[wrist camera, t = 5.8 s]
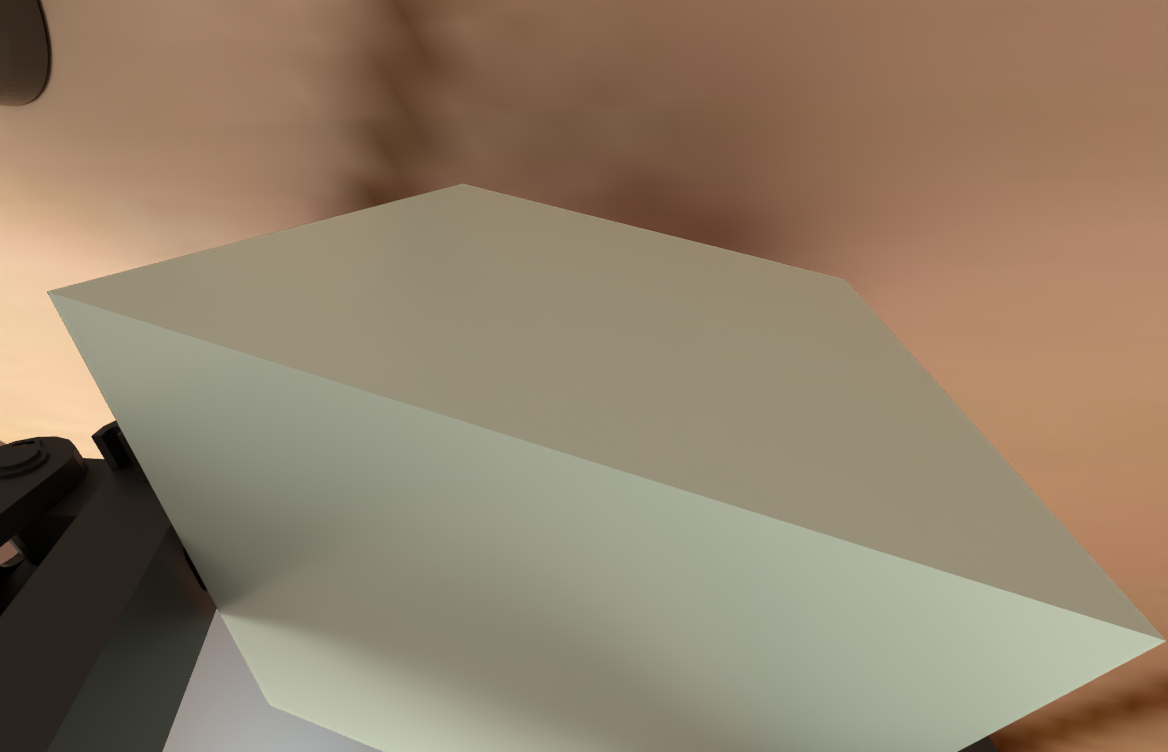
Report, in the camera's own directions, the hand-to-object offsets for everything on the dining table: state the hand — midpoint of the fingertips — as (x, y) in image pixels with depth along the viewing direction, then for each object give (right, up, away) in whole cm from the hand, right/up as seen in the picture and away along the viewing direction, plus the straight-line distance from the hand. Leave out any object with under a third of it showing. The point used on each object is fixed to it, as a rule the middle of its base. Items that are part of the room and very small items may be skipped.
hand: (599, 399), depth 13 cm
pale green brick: (0, 0, +1) cm, 1 cm away
